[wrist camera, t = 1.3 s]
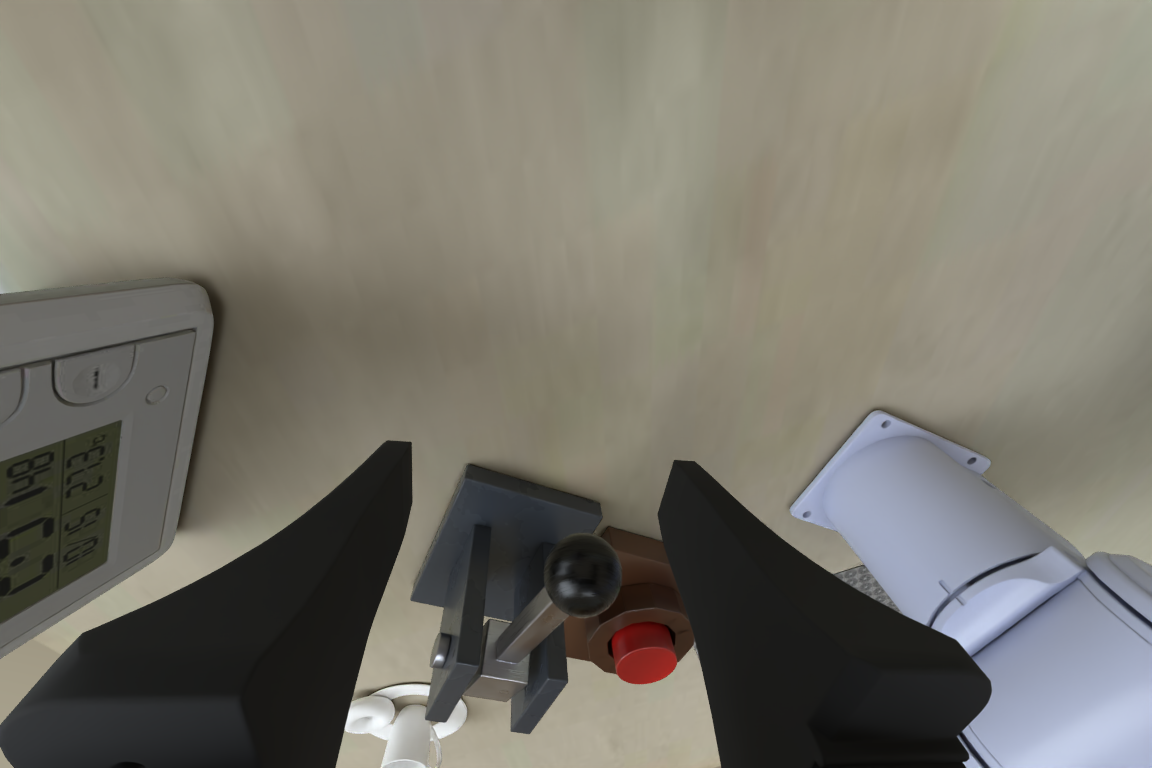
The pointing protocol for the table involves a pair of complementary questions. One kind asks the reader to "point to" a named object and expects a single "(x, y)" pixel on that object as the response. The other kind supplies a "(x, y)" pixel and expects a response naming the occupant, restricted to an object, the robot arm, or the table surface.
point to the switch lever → (547, 612)
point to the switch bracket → (496, 583)
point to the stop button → (643, 652)
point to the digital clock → (93, 438)
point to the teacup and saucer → (402, 725)
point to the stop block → (632, 603)
